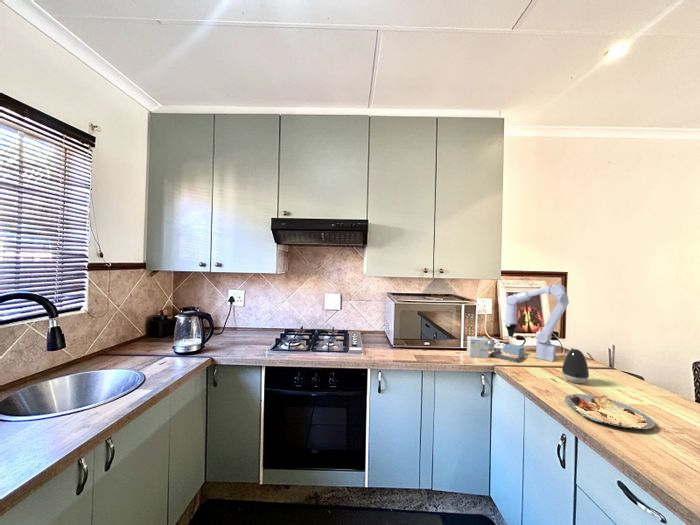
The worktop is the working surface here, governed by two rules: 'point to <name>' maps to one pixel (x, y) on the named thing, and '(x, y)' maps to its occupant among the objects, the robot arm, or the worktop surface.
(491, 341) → the grey metal canister
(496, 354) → the display bay
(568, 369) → the dark grey rounded dome
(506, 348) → the carton
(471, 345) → the light bulb box
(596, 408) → the food plate
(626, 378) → the worktop surface
